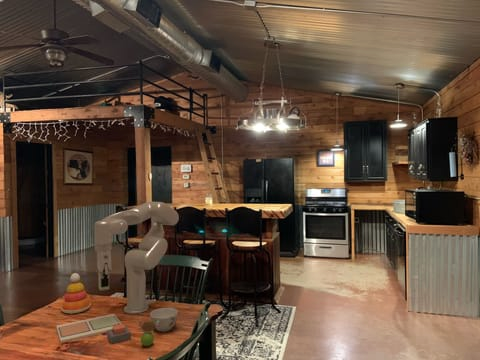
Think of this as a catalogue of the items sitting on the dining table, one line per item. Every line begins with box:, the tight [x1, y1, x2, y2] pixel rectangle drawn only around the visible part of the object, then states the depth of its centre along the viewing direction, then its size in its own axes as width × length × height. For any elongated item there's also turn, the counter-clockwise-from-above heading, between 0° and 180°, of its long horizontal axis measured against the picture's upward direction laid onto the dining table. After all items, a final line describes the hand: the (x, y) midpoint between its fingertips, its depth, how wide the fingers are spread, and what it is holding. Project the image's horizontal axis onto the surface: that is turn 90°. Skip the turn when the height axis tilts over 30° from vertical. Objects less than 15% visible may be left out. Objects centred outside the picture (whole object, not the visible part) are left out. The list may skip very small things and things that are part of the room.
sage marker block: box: [97, 268, 110, 291], centre depth 167 cm, size 4×4×10 cm
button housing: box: [106, 325, 132, 345], centre depth 154 cm, size 8×8×3 cm
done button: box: [113, 323, 126, 335], centre depth 154 cm, size 4×4×3 cm
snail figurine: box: [138, 316, 155, 347], centre depth 147 cm, size 5×6×12 cm
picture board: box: [56, 313, 122, 344], centre depth 164 cm, size 26×18×1 cm
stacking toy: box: [60, 272, 92, 315], centre depth 187 cm, size 14×14×20 cm
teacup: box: [149, 307, 179, 332], centre depth 161 cm, size 15×12×8 cm
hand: (103, 284), depth 167 cm, fingers closed on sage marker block, 4 cm apart
